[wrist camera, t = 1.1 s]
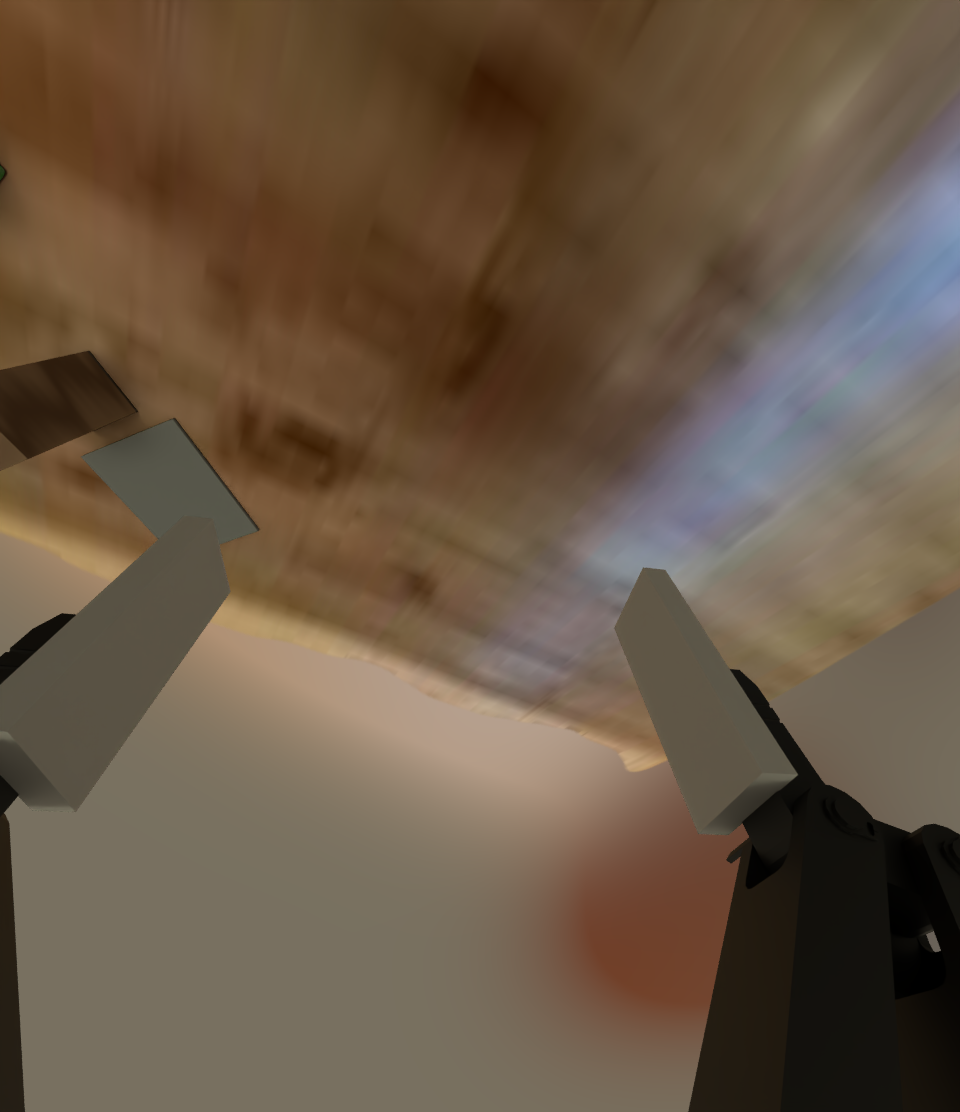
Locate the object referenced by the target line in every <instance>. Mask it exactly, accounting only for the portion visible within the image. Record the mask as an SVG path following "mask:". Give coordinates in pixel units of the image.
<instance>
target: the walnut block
mask: <svg viewBox="0 0 960 1112" xmlns="http://www.w3.org/2000/svg"><path fill="white" fill-rule="evenodd" d="M135 412H137V410H136V409H135V407H134V406H133V405H132V404H131V402H130V401H129V400H128V399H127V397H126V396H125V395H124V394H123V392H122V391H121V390H120V389H119V387H118V386H117V385H116V384H115V382H114V381H113V380H112V379H111V377H110V376H109V375H108V374H107V372H106V371H105V370H104V369H103V368H102V366H101V365H100V364H99V363H98V361H97V360H96V359H95V358H94V356H93V355H92V354H91V353H90V351H86V352H82V353H77V354H72V355H68V356H63V357H59V358H54V359H49V360H45V361H40V362H36V363H31V364H26V365H22V366H17V367H12V368H8V369H3V370H0V471H1V470H3V469H6V468H8V467H10V466H13V465H15V464H18V463H20V462H22V461H25V460H27V459H29V458H32V457H34V456H36V455H39V454H41V453H43V452H45V451H48V450H50V449H52V448H55V447H57V446H59V445H62V444H64V443H66V442H68V441H71V440H73V439H75V438H78V437H80V436H82V435H85V434H87V433H89V432H91V431H94V430H96V429H98V428H101V427H103V426H105V425H107V424H110V423H112V422H114V421H117V420H119V419H121V418H124V417H126V416H128V415H130V414H133V413H135Z"/></svg>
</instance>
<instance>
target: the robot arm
mask: <svg viewBox="0 0 960 1112" xmlns="http://www.w3.org/2000/svg"><path fill="white" fill-rule="evenodd" d="M229 593H230V588H229V584H228V580H227V575H226V571H225V567H224V563H223V559H222V555H221V550H220V546H219V542H218V538H217V534H216V530H215V525H214V521H213V519H210V518H201V517H192V516H183V517H182V518H181V519H180V520H179V521H178V522H177V523H176V524H175V525H174V526H173V527H172V528H170V529H169V530H168V531H167V532H166V533H165V534H164V535H163V536H162V537H161V538H160V539H158V540H157V541H156V542H155V543H154V544H153V545H152V546H151V547H150V548H149V549H148V550H146V551H145V552H144V553H143V554H142V555H141V556H140V557H139V558H138V559H137V560H136V561H134V562H133V563H132V564H131V565H130V566H129V567H128V568H127V569H126V570H125V571H124V572H122V573H121V574H120V575H119V576H118V577H117V578H116V579H115V580H114V581H113V582H112V583H110V584H109V585H108V586H107V587H106V588H105V589H104V590H103V591H102V592H101V593H100V594H99V595H98V596H96V597H95V598H94V599H93V600H92V601H91V602H90V603H89V604H88V605H87V606H85V607H84V608H83V609H82V610H81V611H80V612H79V613H78V614H77V615H75V614H63V613H62V614H60V615H58V616H56V617H54V618H52V619H50V620H49V621H47V622H45V623H43V624H41V625H39V626H37V627H36V628H33V629H32V630H31V631H30V632H29V633H28V634H26V635H25V636H24V637H23V638H21V640H19V641H18V642H17V643H16V644H14V645H13V646H12V647H11V648H10V651H9V652H5V653H4V654H3V655H2V656H1V657H0V1112H25V1107H24V1088H23V1069H22V1051H21V1033H20V1014H19V995H18V976H17V958H16V942H15V941H16V939H15V922H14V903H13V883H12V865H11V847H10V828H9V822H8V820H7V818H6V815H5V814H4V812H5V811H6V810H7V808H8V807H9V806H10V805H11V804H12V802H13V801H14V800H15V799H16V798H17V796H19V797H20V798H21V799H22V800H23V802H25V804H26V805H27V806H29V808H30V809H31V810H32V811H60V812H76V811H77V810H78V808H79V807H80V805H81V804H82V803H83V801H84V800H85V798H86V797H87V795H88V794H89V792H90V791H91V790H92V788H93V787H94V785H95V784H96V782H97V781H98V780H99V778H100V777H101V775H102V774H103V773H104V771H105V770H106V768H107V767H108V765H109V764H110V763H111V761H112V760H113V758H114V757H115V755H116V754H117V753H118V751H119V750H120V748H121V747H122V745H123V744H124V743H125V741H126V740H127V738H128V737H129V736H130V734H131V733H132V731H133V730H134V728H135V727H136V725H137V724H138V723H139V721H140V720H141V718H142V717H143V716H144V714H145V713H146V711H147V710H148V708H149V707H150V705H151V704H152V703H153V701H154V700H155V698H156V697H157V696H158V694H159V693H160V691H161V690H162V688H163V687H164V686H165V684H166V683H167V681H168V680H169V678H170V677H171V676H172V674H173V673H174V671H175V670H176V669H177V667H178V666H179V664H180V663H181V661H182V660H183V659H184V657H185V656H186V654H187V653H188V651H189V650H190V648H191V647H192V646H193V644H194V643H195V642H196V640H197V639H198V637H199V636H200V634H201V633H202V631H203V630H204V629H205V627H206V626H207V624H208V623H209V622H210V620H211V619H212V617H213V616H214V614H215V613H216V612H217V610H218V609H219V607H220V606H221V604H222V603H223V602H224V600H225V599H226V597H227V596H228V594H229ZM614 629H615V631H616V633H617V636H618V638H619V641H620V643H621V646H622V648H623V651H624V653H625V655H626V658H627V660H628V663H629V665H630V668H631V670H632V673H633V675H634V678H635V680H636V682H637V685H638V687H639V690H640V692H641V695H642V697H643V700H644V702H645V704H646V707H647V709H648V712H649V714H650V717H651V719H652V722H653V724H654V727H655V729H656V731H657V734H658V736H659V739H660V741H661V744H662V746H663V749H664V751H665V754H666V756H667V758H668V761H669V763H670V766H671V768H672V771H673V773H674V776H675V778H676V780H677V783H678V785H679V788H680V790H681V793H682V795H683V798H684V800H685V802H686V805H687V807H688V810H689V812H690V815H691V817H692V820H693V822H694V824H695V827H696V829H697V832H698V834H715V835H729V834H730V833H731V832H733V831H734V830H735V829H736V828H737V827H738V826H740V825H741V824H742V823H743V825H744V827H745V829H746V831H747V833H748V835H749V838H748V839H747V840H745V841H744V842H743V843H742V844H741V845H739V846H738V847H737V848H736V849H735V850H733V851H732V852H731V853H730V854H729V856H728V858H727V861H728V862H730V863H733V862H734V861H735V860H737V859H738V858H739V857H740V856H741V858H740V863H739V869H738V873H737V878H736V882H735V887H734V892H733V897H732V902H731V907H730V912H729V917H728V921H727V926H726V931H725V936H724V941H723V946H722V951H721V955H720V961H719V965H718V970H717V975H716V980H715V985H714V989H713V994H712V1000H711V1004H710V1009H709V1014H708V1019H707V1024H706V1028H705V1033H704V1038H703V1043H702V1048H701V1053H700V1058H699V1062H698V1068H697V1072H696V1077H695V1082H694V1087H693V1092H692V1097H691V1102H690V1106H689V1111H688V1112H960V834H958V833H956V832H954V831H952V830H951V829H949V828H947V827H943V826H940V825H937V824H929V825H924V826H922V827H921V828H919V829H917V830H916V831H914V832H912V833H910V832H907V831H904V830H902V829H899V828H896V827H893V826H891V825H888V824H885V823H883V822H880V821H877V820H875V819H873V818H872V816H871V815H870V814H869V813H868V812H867V811H866V810H865V809H864V808H863V806H862V805H861V804H860V803H859V802H857V801H856V800H855V799H853V798H852V797H850V796H849V795H848V794H847V793H845V792H843V791H841V790H839V789H837V788H835V787H833V786H830V785H825V783H824V782H823V781H822V780H821V778H820V777H819V775H818V774H817V773H816V771H815V770H814V768H813V767H812V765H811V764H810V762H809V761H808V759H807V758H806V757H805V755H804V754H803V752H802V751H801V749H800V748H799V746H798V745H797V744H796V742H795V741H794V739H793V738H792V736H791V735H790V733H789V732H788V730H787V729H786V728H785V726H784V725H783V723H780V721H779V720H780V719H779V718H778V716H777V715H776V713H775V711H774V710H773V708H770V707H769V703H768V701H767V700H766V698H765V697H764V695H763V694H762V692H761V691H760V690H759V688H758V687H757V686H756V685H755V684H754V683H753V682H752V681H751V680H750V679H749V678H748V677H747V676H746V675H744V674H743V673H742V672H741V671H740V670H734V669H729V668H728V666H727V664H726V663H725V661H724V660H723V658H722V657H721V655H720V654H719V652H718V651H717V649H716V647H715V646H714V644H713V643H712V641H711V640H710V638H709V637H708V635H707V634H706V632H705V631H704V629H703V627H702V626H701V624H700V623H699V621H698V620H697V618H696V617H695V615H694V614H693V612H692V610H691V609H690V607H689V606H688V604H687V603H686V601H685V600H684V598H683V597H682V595H681V593H680V592H679V590H678V589H677V587H676V586H675V584H674V583H673V581H672V580H671V578H670V577H669V575H668V573H667V572H666V570H661V569H652V568H643V569H642V571H641V573H640V575H639V577H638V579H637V582H636V584H635V586H634V588H633V590H632V592H631V594H630V596H629V598H628V600H627V602H626V605H625V607H624V609H623V611H622V613H621V615H620V617H619V619H618V621H617V623H616V626H615V628H614ZM933 931H934V933H935V935H936V938H937V941H938V943H939V946H940V949H941V951H939V952H934V951H933V949H932V948H931V946H930V944H929V941H928V938H927V936H926V934H928V933H930V932H933Z"/></svg>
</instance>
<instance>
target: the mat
mask: <svg viewBox="0 0 960 1112" xmlns="http://www.w3.org/2000/svg"><path fill="white" fill-rule="evenodd" d="M81 457H82V458H83V460H84V461H85V462H86V463H87V464H88V465H89V466H90V467H91V468H92V469H93V470H94V471H95V472H96V473H97V474H98V475H99V477H100V478H101V479H102V480H103V481H104V482H105V483H106V484H107V485H108V486H109V487H110V488H111V489H112V490H113V491H114V493H115V494H116V495H117V496H118V497H119V498H120V499H121V500H122V501H123V502H124V503H125V504H126V505H127V506H128V507H129V509H130V510H131V511H132V512H133V513H134V514H135V515H136V516H137V517H138V518H139V519H140V520H141V521H142V522H143V523H144V525H145V526H146V527H147V528H148V529H149V530H150V531H151V532H152V533H153V534H154V535H155V536H156V537H157V538H158V539H160V538H161V537H162V536H163V535H164V534H165V533H166V532H167V531H168V530H169V529H170V528H172V527H173V526H174V525H175V524H176V523H177V522H178V521H179V520H180V519H181V518H182V517H183V516H192V517H201V518H210V519H213V521H214V525H215V530H216V534H217V538H218V542H219V544H222V543H225V542H228V541H231V540H234V539H236V538H239V537H242V536H245V535H248V534H251V533H254V532H257V531H259V528H258V527H257V526H256V524H255V523H254V522H253V521H252V519H251V518H250V517H249V515H248V514H247V513H246V511H245V510H244V509H243V507H242V506H241V505H240V503H239V502H238V501H237V499H236V498H235V497H234V496H233V494H232V493H231V492H230V490H229V489H228V488H227V486H226V485H225V484H224V482H223V481H222V480H221V478H220V477H219V476H218V475H217V473H216V472H215V471H214V469H213V468H212V467H211V465H210V464H209V463H208V461H207V460H206V459H205V457H204V456H203V455H202V453H201V452H200V451H199V450H198V448H197V447H196V446H195V444H194V443H193V442H192V440H191V439H190V438H189V436H188V435H187V434H186V432H185V431H184V430H183V429H182V427H181V426H180V425H179V423H178V422H177V421H176V419H175V418H173V419H171V420H168V421H166V422H164V423H161V424H159V425H156V426H154V427H151V428H149V429H147V430H144V431H142V432H139V433H137V434H134V435H132V436H130V437H127V438H125V439H122V440H120V441H118V442H115V443H113V444H110V445H108V446H105V447H103V448H101V449H98V450H96V451H93V452H91V453H88V454H86V455H84V456H81Z"/></svg>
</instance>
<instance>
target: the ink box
mask: <svg viewBox="0 0 960 1112" xmlns="http://www.w3.org/2000/svg"><path fill="white" fill-rule="evenodd" d="M4 174H5V171H4V169H3V168H2V166H1V165H0V180H1V179H2V177H3V176H4Z"/></svg>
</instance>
